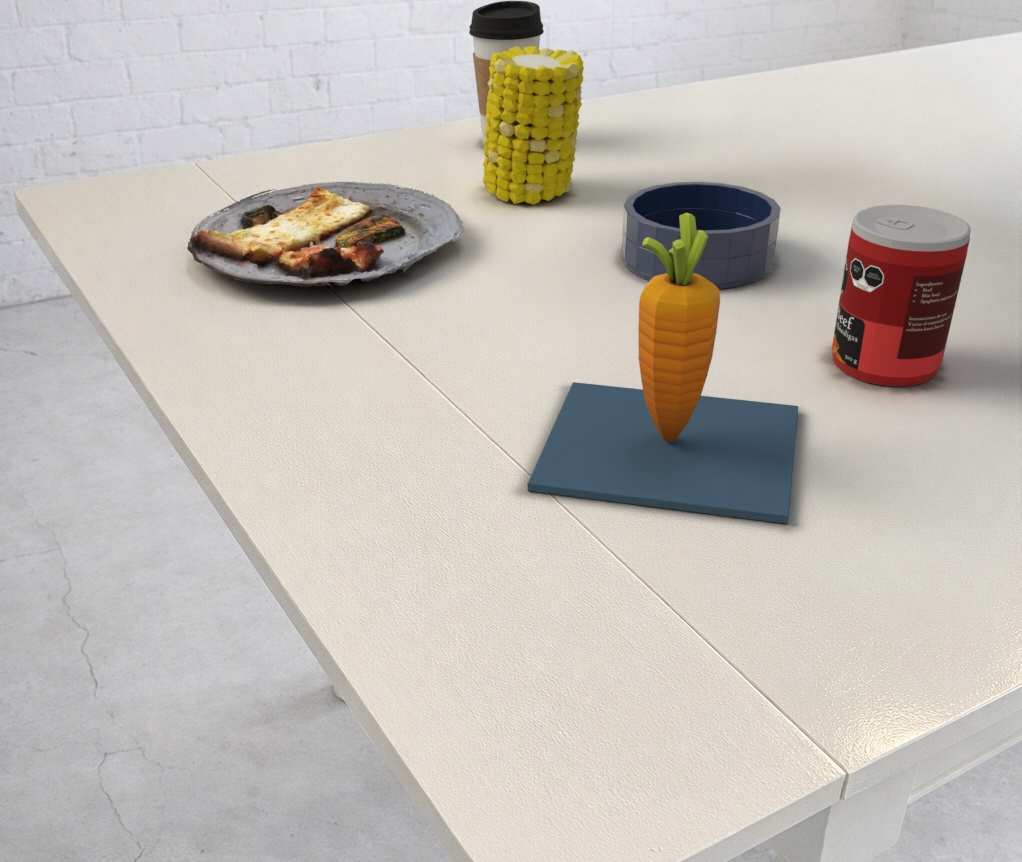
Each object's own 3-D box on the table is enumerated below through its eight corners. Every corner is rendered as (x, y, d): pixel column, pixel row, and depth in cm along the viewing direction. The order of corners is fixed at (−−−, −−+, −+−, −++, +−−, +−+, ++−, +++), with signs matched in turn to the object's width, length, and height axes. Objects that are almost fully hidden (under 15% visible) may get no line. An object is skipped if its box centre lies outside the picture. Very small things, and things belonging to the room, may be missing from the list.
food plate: (319, 327, 91) (314, 286, 89) (139, 264, 103) (131, 226, 101) (506, 236, 108) (506, 200, 106) (332, 191, 120) (329, 158, 118)
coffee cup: (556, 139, 134) (558, 4, 126) (518, 158, 129) (516, 16, 120) (498, 129, 138) (496, -3, 130) (458, 146, 132) (453, 9, 124)
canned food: (835, 336, 89) (857, 199, 82) (941, 350, 86) (973, 210, 80) (823, 379, 83) (847, 234, 76) (938, 395, 80) (971, 247, 74)
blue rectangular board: (797, 413, 79) (798, 405, 78) (787, 524, 67) (788, 516, 67) (572, 389, 82) (572, 381, 82) (527, 491, 71) (527, 483, 70)
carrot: (677, 470, 71) (696, 242, 63) (616, 443, 74) (626, 222, 66) (722, 440, 74) (745, 219, 66) (661, 415, 77) (676, 200, 69)
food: (514, 188, 125) (589, 210, 120) (447, 191, 116) (525, 216, 111) (537, 40, 118) (618, 58, 113) (469, 32, 109) (553, 51, 104)
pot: (777, 239, 106) (784, 186, 104) (768, 295, 95) (775, 238, 93) (634, 228, 109) (637, 177, 106) (610, 282, 98) (612, 226, 95)
